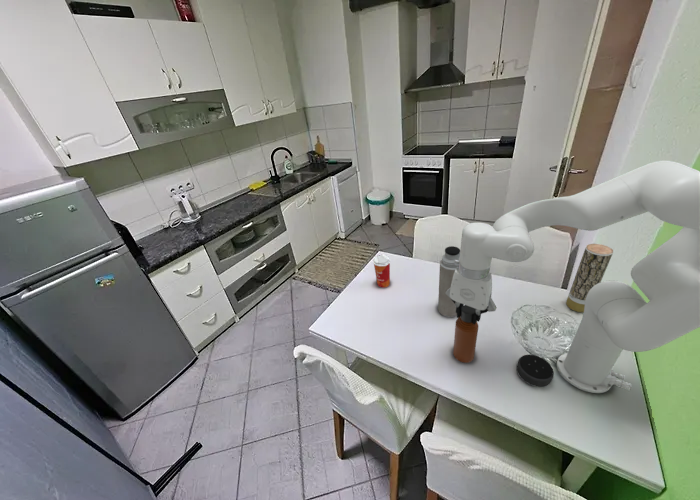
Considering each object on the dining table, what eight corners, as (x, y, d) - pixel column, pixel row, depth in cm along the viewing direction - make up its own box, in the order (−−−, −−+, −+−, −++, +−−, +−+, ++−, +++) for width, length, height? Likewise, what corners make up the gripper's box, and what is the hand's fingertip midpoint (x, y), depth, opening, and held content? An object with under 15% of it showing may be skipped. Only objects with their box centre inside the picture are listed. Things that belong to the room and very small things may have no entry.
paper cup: (372, 281, 130) (370, 256, 123) (387, 277, 132) (385, 252, 124) (379, 291, 123) (376, 265, 116) (394, 286, 125) (393, 260, 118)
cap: (458, 319, 82) (458, 310, 81) (463, 311, 85) (464, 302, 83) (471, 324, 80) (473, 316, 78) (476, 316, 82) (478, 307, 81)
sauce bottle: (476, 352, 91) (483, 308, 81) (470, 366, 87) (476, 321, 77) (457, 343, 95) (461, 300, 85) (450, 356, 91) (453, 313, 81)
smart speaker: (548, 366, 84) (551, 357, 82) (553, 392, 77) (557, 384, 75) (515, 358, 87) (517, 350, 85) (517, 383, 80) (519, 374, 78)
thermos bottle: (458, 303, 111) (463, 243, 97) (460, 317, 104) (467, 255, 90) (437, 302, 113) (439, 243, 98) (438, 316, 106) (441, 255, 92)
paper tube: (570, 312, 100) (591, 254, 87) (562, 299, 105) (582, 243, 92) (592, 313, 98) (618, 254, 85) (583, 300, 103) (606, 243, 91)
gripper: (437, 266, 76) (435, 314, 85) (504, 286, 66) (493, 338, 75) (449, 253, 80) (445, 300, 90) (512, 270, 70) (501, 321, 80)
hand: (467, 317), depth 82 cm, fingers closed on cap, 4 cm apart
